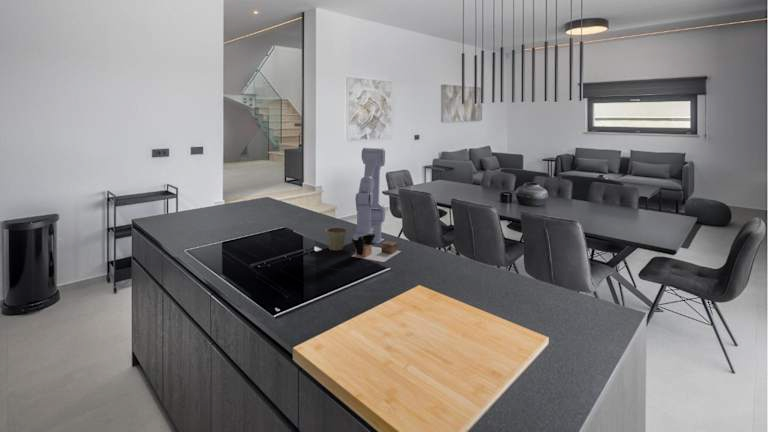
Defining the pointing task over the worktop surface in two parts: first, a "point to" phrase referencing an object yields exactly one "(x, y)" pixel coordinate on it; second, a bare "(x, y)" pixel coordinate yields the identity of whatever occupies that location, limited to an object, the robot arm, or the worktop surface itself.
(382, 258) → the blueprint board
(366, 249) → the terracotta block
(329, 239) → the flower pot
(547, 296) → the worktop surface
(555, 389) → the worktop surface
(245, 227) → the worktop surface
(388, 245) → the walnut block
